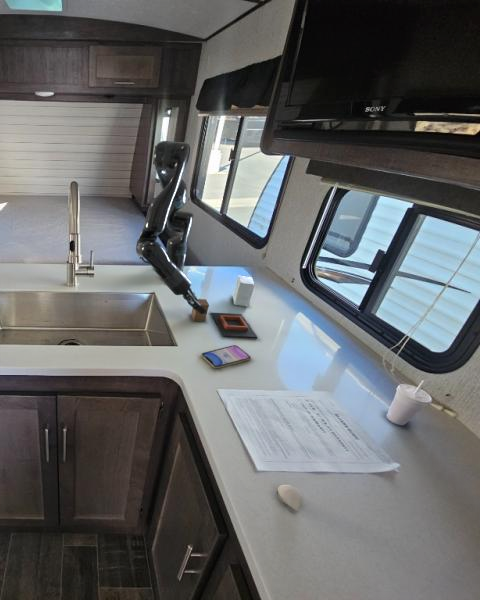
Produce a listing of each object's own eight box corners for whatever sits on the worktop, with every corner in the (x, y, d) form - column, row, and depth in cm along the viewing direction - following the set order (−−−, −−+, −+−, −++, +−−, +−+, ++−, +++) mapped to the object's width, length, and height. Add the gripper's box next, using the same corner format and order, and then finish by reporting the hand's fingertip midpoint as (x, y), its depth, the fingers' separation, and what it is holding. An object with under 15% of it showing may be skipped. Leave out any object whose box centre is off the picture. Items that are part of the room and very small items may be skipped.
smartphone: (252, 359, 105) (253, 357, 104) (214, 370, 100) (215, 367, 100) (235, 346, 111) (235, 344, 110) (199, 355, 106) (199, 353, 106)
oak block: (191, 314, 129) (194, 298, 125) (202, 315, 128) (206, 299, 125) (193, 320, 125) (197, 304, 121) (205, 321, 125) (209, 304, 121)
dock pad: (210, 314, 130) (211, 309, 129) (240, 315, 129) (242, 311, 128) (223, 337, 116) (224, 332, 115) (257, 339, 115) (258, 334, 114)
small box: (248, 307, 135) (255, 284, 130) (233, 304, 137) (240, 282, 132) (246, 298, 142) (252, 277, 137) (232, 296, 144) (238, 275, 138)
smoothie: (378, 419, 84) (405, 379, 78) (381, 406, 88) (407, 367, 82) (411, 434, 80) (442, 393, 74) (412, 419, 84) (442, 379, 78)
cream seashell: (293, 489, 68) (297, 482, 66) (306, 515, 63) (311, 507, 62) (272, 488, 68) (276, 481, 67) (284, 513, 63) (288, 506, 62)
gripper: (188, 282, 112) (215, 313, 117) (180, 266, 124) (205, 295, 129) (170, 295, 115) (198, 324, 120) (164, 278, 127) (189, 305, 132)
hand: (201, 309), depth 125 cm, fingers closed on oak block, 4 cm apart
